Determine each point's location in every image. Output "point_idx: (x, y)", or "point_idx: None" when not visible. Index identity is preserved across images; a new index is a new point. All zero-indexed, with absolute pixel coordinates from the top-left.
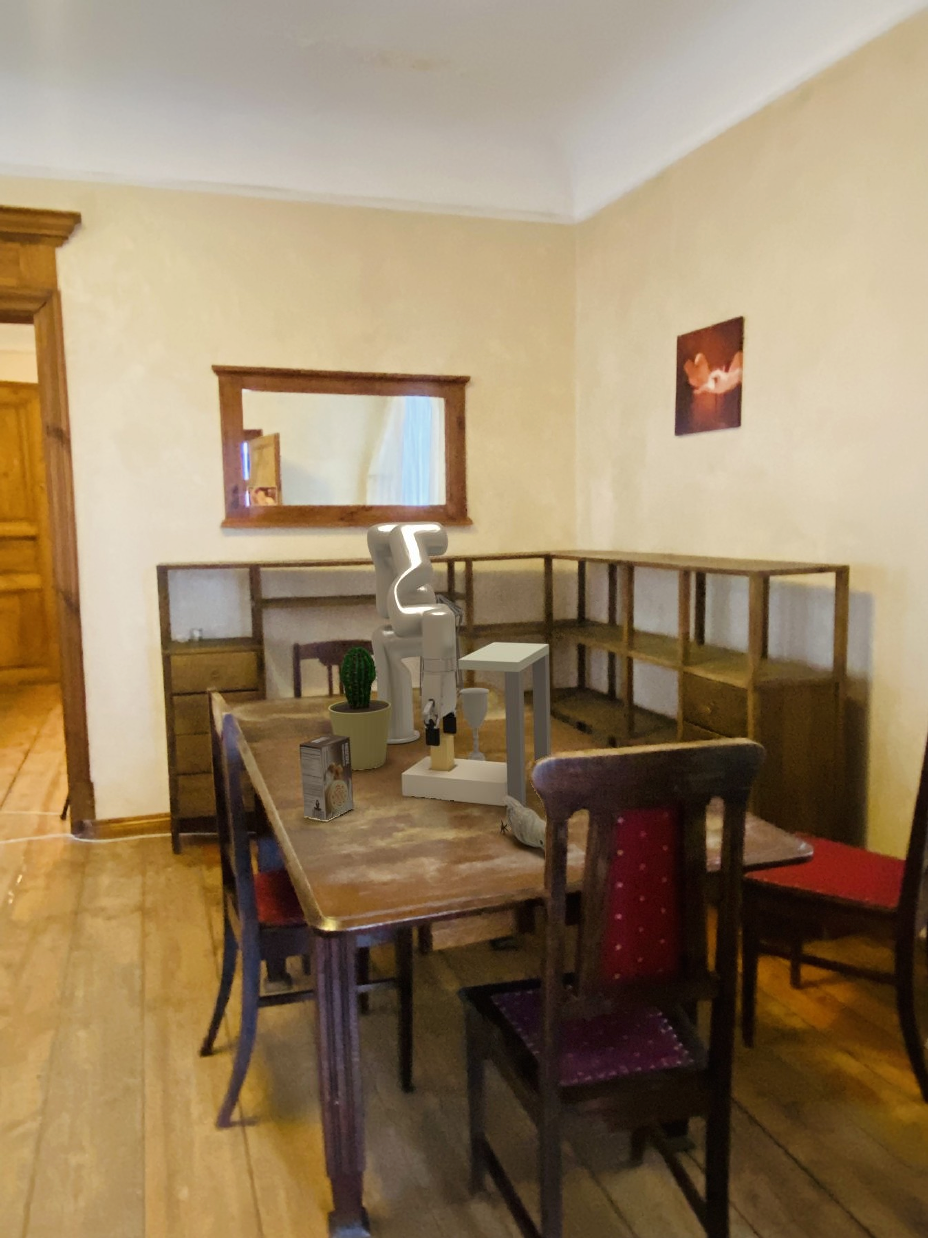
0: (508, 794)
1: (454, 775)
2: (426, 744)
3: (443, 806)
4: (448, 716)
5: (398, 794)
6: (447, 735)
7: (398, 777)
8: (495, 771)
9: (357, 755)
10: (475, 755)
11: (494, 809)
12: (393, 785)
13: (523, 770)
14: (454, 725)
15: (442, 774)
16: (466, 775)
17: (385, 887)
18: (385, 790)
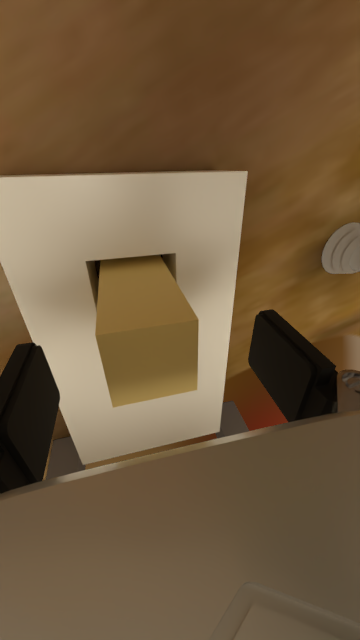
0: (46, 478)
1: (76, 364)
2: (18, 346)
3: (6, 334)
4: (310, 402)
5: (6, 151)
6: (189, 371)
7: (184, 39)
8: (154, 417)
9: None
10: (348, 261)
11: (59, 416)
12: (86, 68)
13: None
14: (268, 390)
15: (64, 333)
16: (93, 387)
17: None
18: (11, 58)
